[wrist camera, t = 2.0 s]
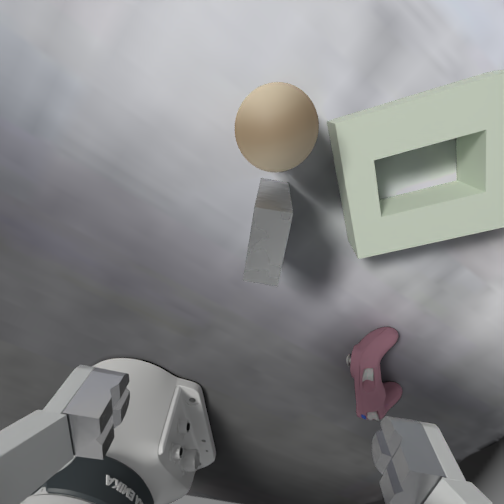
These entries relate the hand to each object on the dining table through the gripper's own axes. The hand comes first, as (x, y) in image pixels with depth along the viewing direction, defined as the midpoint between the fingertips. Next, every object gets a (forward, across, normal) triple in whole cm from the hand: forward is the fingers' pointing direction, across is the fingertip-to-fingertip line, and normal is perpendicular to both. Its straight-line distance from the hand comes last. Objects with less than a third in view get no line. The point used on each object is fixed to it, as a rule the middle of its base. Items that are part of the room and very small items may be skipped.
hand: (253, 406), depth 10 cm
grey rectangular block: (+21, 0, 0) cm, 21 cm away
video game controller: (+21, -15, +16) cm, 30 cm away
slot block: (+21, -11, -6) cm, 24 cm away
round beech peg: (+21, +1, -7) cm, 22 cm away
